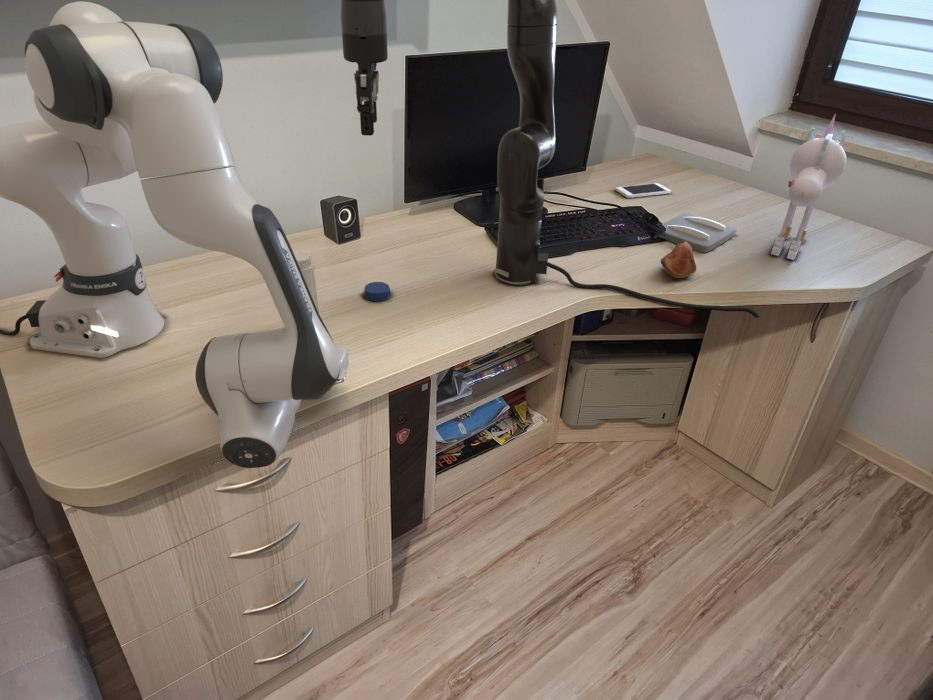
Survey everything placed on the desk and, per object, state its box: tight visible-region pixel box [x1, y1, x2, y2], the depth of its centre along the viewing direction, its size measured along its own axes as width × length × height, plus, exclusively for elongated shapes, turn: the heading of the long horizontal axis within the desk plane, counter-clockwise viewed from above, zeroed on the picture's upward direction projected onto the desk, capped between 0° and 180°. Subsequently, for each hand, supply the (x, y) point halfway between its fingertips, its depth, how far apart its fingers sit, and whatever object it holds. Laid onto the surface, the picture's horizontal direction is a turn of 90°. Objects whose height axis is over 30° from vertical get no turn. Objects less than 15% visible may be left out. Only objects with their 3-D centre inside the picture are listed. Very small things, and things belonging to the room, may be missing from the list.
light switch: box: [654, 212, 737, 253], centre depth 167 cm, size 18×3×15 cm
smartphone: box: [615, 182, 672, 199], centre depth 194 cm, size 7×16×1 cm, turn 111°
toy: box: [770, 112, 847, 261], centre depth 159 cm, size 12×36×30 cm, turn 148°
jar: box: [293, 251, 320, 314], centre depth 118 cm, size 4×4×16 cm
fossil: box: [660, 241, 697, 279], centre depth 147 cm, size 13×8×10 cm
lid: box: [364, 281, 391, 303], centre depth 135 cm, size 5×5×2 cm
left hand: (293, 336), depth 109 cm, fingers open, 8 cm apart
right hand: (369, 128), depth 116 cm, fingers open, 8 cm apart
